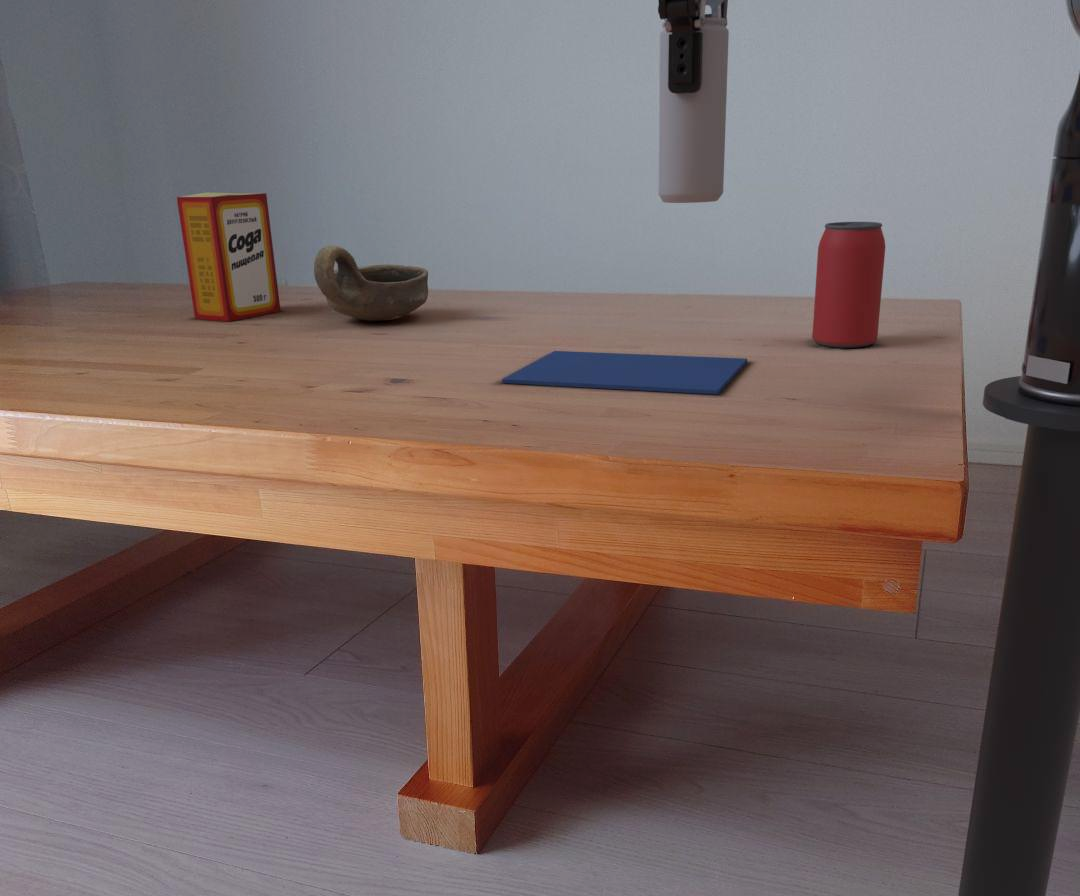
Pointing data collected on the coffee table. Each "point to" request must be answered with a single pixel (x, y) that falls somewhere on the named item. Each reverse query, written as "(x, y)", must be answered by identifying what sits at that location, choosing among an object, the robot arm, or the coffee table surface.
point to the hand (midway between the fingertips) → (692, 93)
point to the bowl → (369, 286)
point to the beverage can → (694, 124)
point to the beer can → (849, 284)
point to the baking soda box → (229, 255)
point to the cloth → (630, 372)
